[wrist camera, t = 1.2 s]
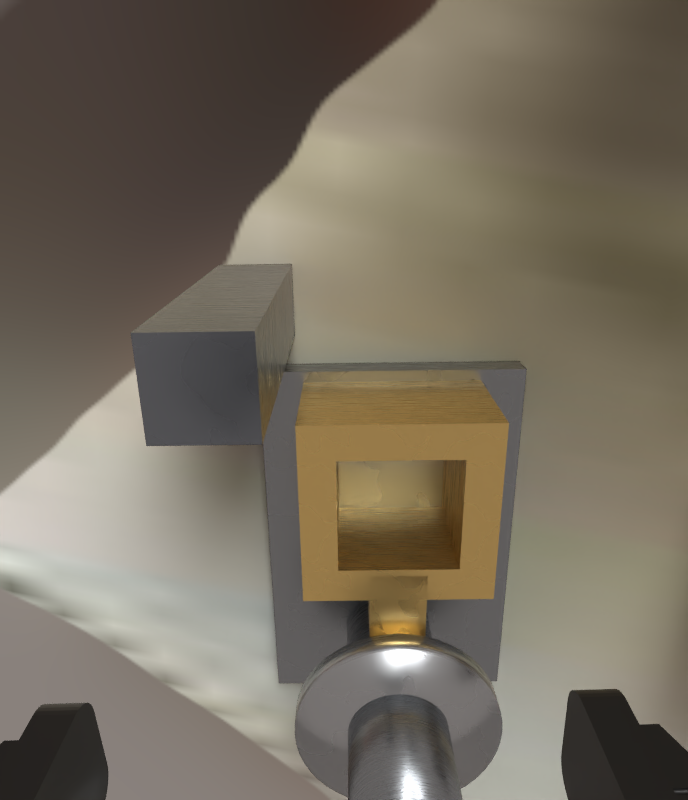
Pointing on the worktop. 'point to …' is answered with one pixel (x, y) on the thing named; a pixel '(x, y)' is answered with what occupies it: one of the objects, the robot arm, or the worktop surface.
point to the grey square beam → (216, 357)
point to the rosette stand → (393, 566)
